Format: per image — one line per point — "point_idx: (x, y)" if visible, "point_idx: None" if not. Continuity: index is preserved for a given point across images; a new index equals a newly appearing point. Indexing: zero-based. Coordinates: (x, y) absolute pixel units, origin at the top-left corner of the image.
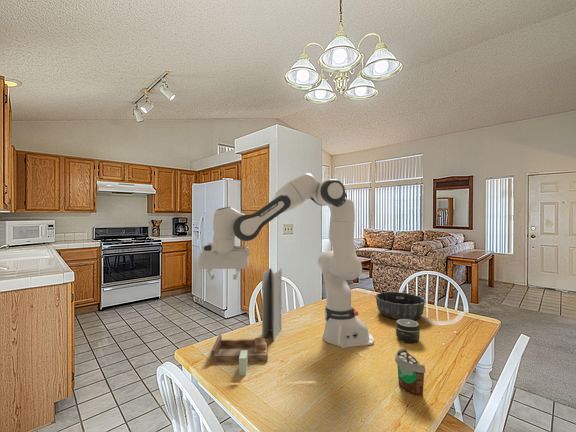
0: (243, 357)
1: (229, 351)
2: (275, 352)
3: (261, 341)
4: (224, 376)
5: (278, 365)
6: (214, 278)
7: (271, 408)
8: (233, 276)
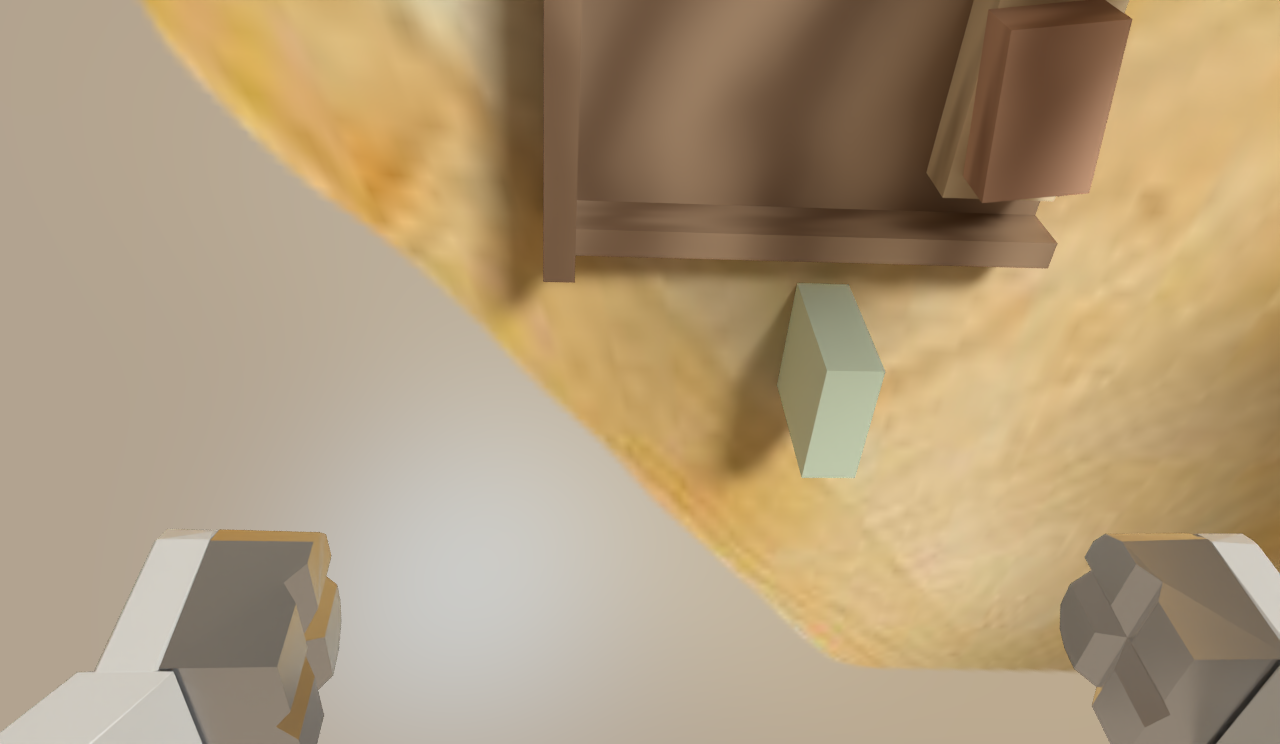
0: (837, 468)
1: (692, 29)
2: (1159, 52)
3: (1065, 123)
4: (676, 374)
5: (1093, 271)
6: (321, 545)
7: (919, 597)
8: (1109, 726)
